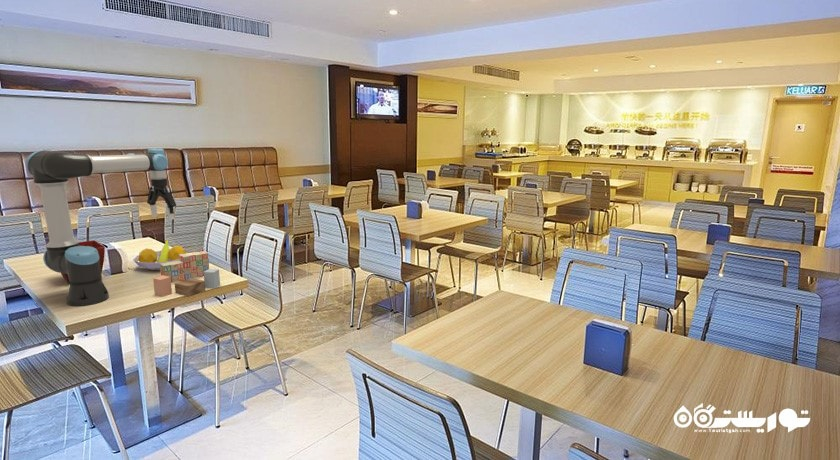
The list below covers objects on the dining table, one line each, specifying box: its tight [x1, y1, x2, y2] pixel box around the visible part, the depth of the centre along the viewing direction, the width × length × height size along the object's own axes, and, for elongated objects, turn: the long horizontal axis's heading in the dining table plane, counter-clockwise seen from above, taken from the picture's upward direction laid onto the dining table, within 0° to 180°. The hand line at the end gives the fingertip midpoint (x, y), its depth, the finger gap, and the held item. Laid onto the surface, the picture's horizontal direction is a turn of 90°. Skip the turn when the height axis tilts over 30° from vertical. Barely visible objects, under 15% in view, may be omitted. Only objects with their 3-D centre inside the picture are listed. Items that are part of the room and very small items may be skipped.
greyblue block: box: [203, 268, 221, 289], centre depth 226 cm, size 5×5×8 cm
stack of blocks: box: [159, 250, 210, 284], centre depth 237 cm, size 21×6×12 cm, turn 134°
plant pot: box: [60, 239, 106, 284], centre depth 233 cm, size 19×19×17 cm
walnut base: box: [174, 278, 206, 297], centre depth 219 cm, size 9×9×5 cm
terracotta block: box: [152, 275, 173, 297], centre depth 215 cm, size 5×5×8 cm
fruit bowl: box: [132, 239, 188, 271], centre depth 257 cm, size 28×27×11 cm
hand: (162, 218), depth 249 cm, fingers open, 13 cm apart
